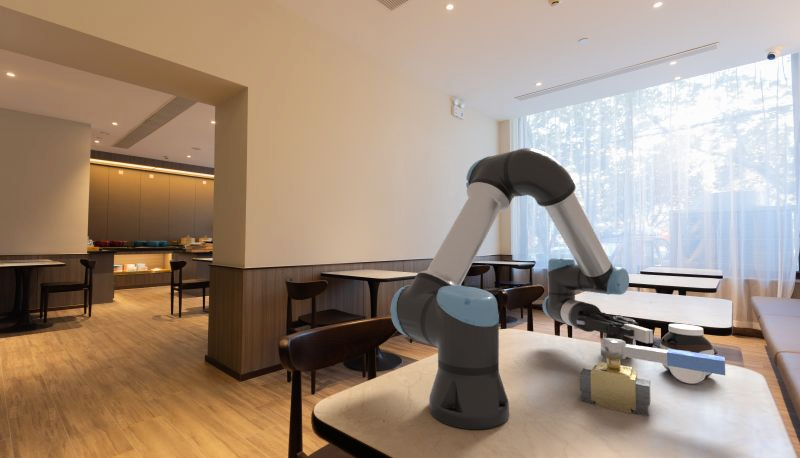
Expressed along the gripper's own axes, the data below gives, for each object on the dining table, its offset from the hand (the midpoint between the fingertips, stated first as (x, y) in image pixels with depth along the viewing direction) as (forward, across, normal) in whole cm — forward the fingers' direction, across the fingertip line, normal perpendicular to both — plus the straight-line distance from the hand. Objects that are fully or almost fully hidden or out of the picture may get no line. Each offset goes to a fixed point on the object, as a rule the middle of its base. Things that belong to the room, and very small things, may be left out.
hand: (649, 336), depth 80 cm
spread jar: (-7, -16, -12) cm, 21 cm away
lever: (+9, +7, -2) cm, 12 cm away
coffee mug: (-27, -14, -12) cm, 32 cm away
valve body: (+4, +12, -12) cm, 17 cm away
